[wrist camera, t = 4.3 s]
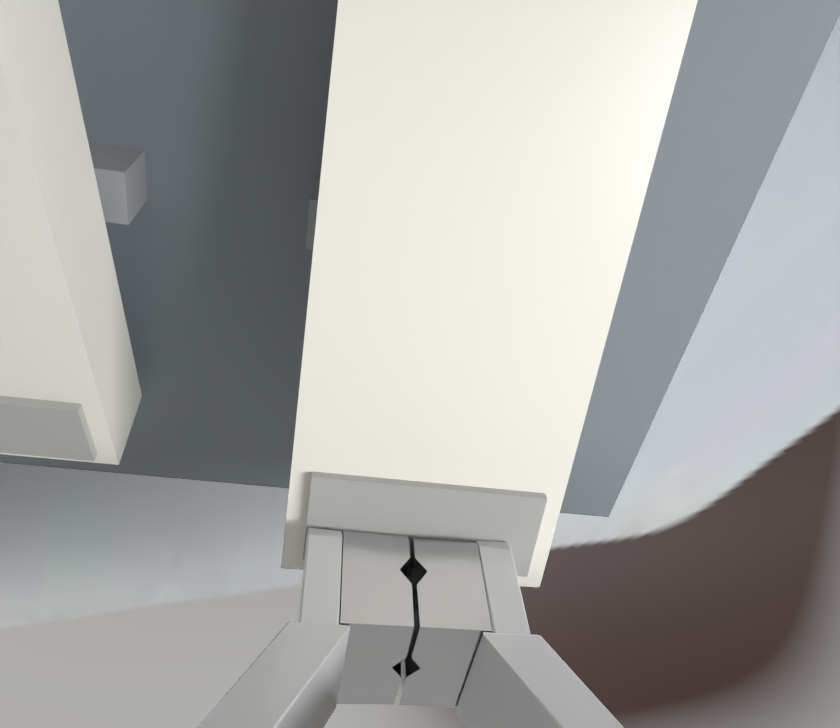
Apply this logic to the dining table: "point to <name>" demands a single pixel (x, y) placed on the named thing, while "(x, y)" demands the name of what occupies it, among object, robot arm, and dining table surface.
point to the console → (297, 209)
